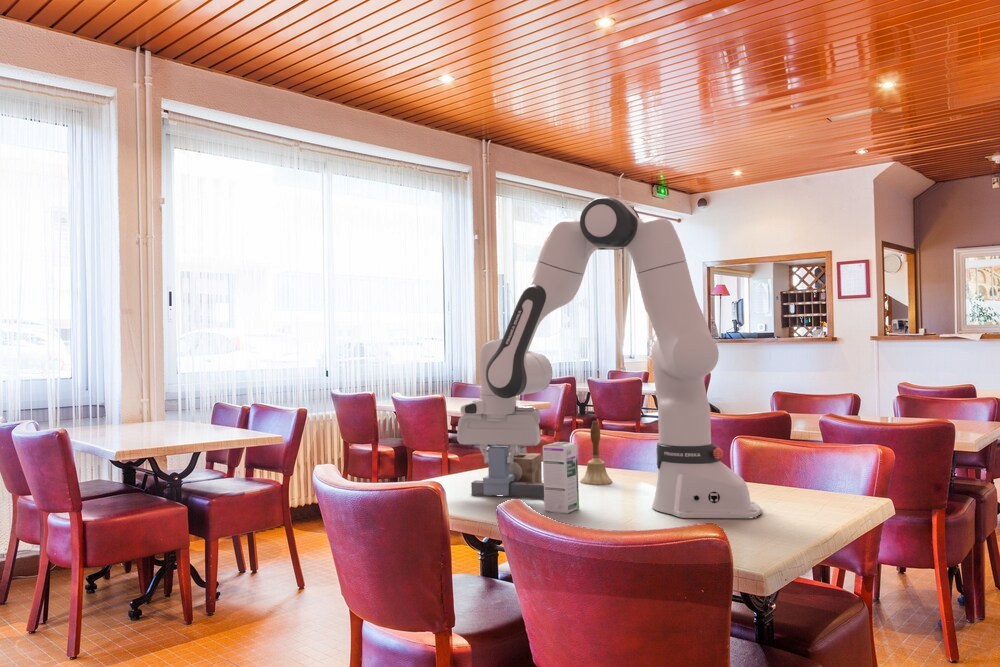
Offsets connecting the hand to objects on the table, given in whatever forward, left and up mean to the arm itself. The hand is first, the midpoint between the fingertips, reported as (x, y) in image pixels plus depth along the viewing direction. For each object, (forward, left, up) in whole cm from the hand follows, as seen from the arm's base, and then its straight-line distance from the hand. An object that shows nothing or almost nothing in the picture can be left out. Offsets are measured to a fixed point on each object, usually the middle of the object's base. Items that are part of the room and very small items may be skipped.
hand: (498, 463), depth 181 cm
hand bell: (-20, -22, -8) cm, 31 cm away
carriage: (0, 0, -8) cm, 8 cm away
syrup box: (-18, +13, -8) cm, 24 cm away
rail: (-4, 0, -8) cm, 8 cm away
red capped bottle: (-2, -10, -2) cm, 10 cm away
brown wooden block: (-2, -10, -8) cm, 13 cm away
